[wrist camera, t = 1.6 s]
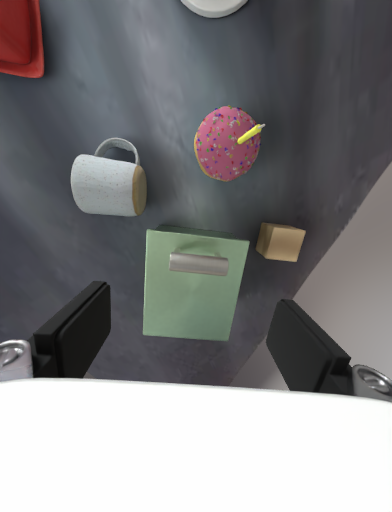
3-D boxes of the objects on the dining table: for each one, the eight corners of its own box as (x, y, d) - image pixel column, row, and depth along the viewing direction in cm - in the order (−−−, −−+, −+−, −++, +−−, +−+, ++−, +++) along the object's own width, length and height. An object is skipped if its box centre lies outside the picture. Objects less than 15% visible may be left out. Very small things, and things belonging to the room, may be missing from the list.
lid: (148, 228, 23) (134, 239, 17) (248, 240, 24) (265, 253, 18) (144, 331, 28) (132, 365, 22) (227, 337, 29) (235, 371, 23)
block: (261, 222, 32) (274, 227, 27) (289, 225, 32) (306, 230, 28) (255, 249, 34) (266, 258, 29) (281, 252, 34) (296, 261, 29)
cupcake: (249, 119, 27) (292, 63, 16) (248, 180, 30) (284, 172, 18) (191, 123, 27) (192, 72, 16) (195, 185, 30) (199, 179, 18)
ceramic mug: (148, 215, 31) (136, 220, 24) (99, 211, 30) (70, 214, 23) (149, 144, 28) (135, 125, 20) (94, 138, 27) (59, 116, 20)
